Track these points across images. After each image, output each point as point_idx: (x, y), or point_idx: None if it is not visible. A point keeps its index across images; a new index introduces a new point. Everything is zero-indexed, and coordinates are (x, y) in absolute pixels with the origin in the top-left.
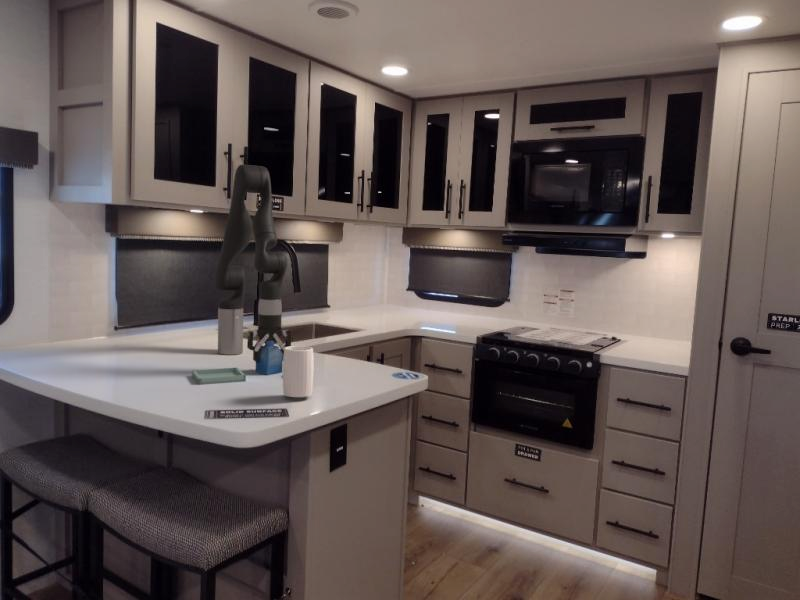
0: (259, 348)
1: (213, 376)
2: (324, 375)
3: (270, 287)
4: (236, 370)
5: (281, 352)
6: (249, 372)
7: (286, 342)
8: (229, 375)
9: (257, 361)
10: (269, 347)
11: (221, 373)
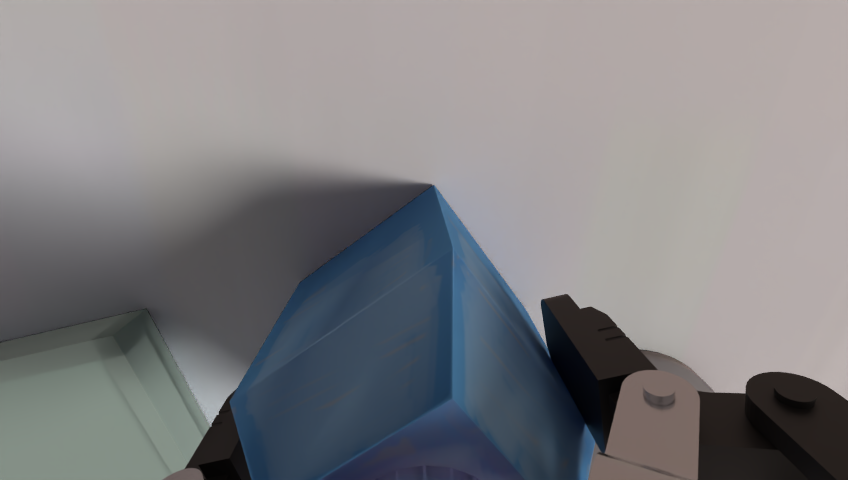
0: (254, 476)
1: (4, 468)
2: None
3: None
4: (134, 394)
5: (589, 456)
6: (249, 290)
7: (824, 471)
8: (115, 447)
9: None
10: None
11: (27, 389)
